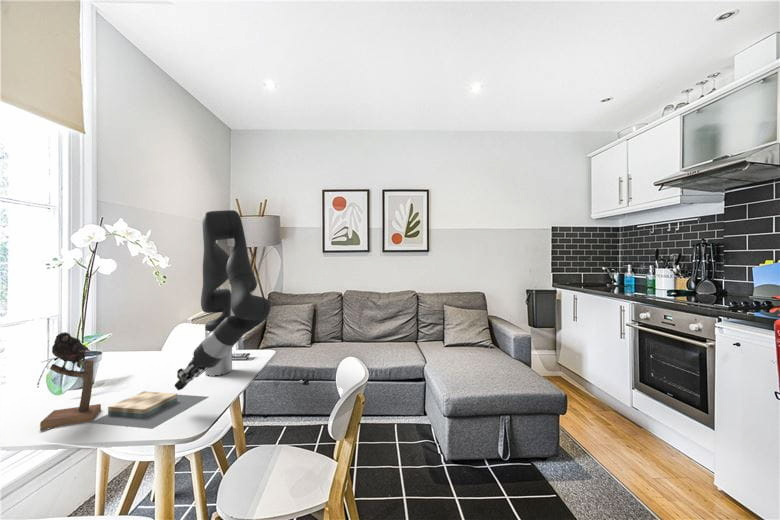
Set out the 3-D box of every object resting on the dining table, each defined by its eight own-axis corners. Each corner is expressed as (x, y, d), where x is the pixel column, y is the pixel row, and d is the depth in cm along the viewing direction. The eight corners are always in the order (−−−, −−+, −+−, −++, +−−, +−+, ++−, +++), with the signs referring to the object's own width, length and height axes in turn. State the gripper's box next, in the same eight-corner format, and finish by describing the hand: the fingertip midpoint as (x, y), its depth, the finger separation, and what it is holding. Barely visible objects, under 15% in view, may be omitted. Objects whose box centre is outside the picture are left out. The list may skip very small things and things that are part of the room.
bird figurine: (107, 403, 110) (107, 323, 110) (91, 422, 97) (91, 331, 97) (62, 409, 106) (62, 326, 106) (40, 430, 93) (40, 335, 93)
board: (177, 401, 111) (144, 398, 113) (177, 393, 111) (144, 391, 113) (144, 418, 99) (108, 415, 101) (144, 409, 99) (108, 406, 101)
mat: (155, 394, 118) (155, 392, 118) (208, 397, 114) (208, 396, 114) (88, 424, 96) (88, 422, 96) (152, 430, 93) (152, 428, 93)
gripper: (221, 333, 108) (186, 371, 110) (190, 343, 95) (151, 385, 97) (237, 351, 107) (201, 389, 109) (207, 363, 94) (167, 406, 96)
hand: (178, 387), depth 103 cm, fingers closed
